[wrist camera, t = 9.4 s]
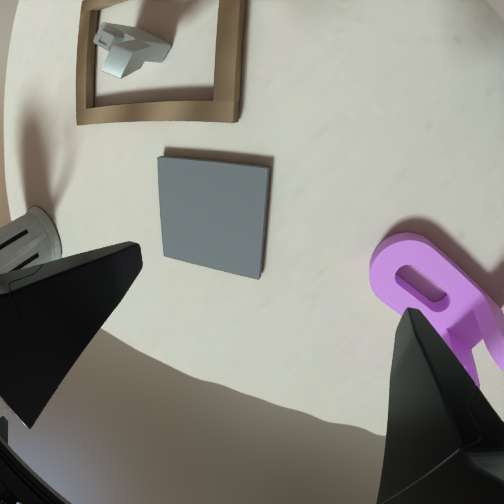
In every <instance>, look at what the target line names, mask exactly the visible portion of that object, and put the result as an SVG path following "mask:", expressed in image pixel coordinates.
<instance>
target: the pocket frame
mask: <svg viewBox="0 0 504 504" xmlns="http://www.w3.org/2000/svg"><path fill="white" fill-rule="evenodd" d="M124 1H127V0H84V1H82V6H81V14H80V23H79V33H78V46H77V64H76V118H77V125H87V124H99V123H114V122H135V121H204V122H226V123H235V122H238V116H239V97H240V79H241V62H242V45H243V30H244V15H245V1H246V0H219V9H218V23H217V37H216V53H215V71H214V93H213V101H203V100H201V101H161V102H144V103H131V104H120V105H111V106H102V107H94V56H95V43H94V42H93V40H94V38H95V34H96V28H97V18H98V11H99V10H102V9H104V8H107V7H110V6H112V5H115V4H118V3H121V2H124Z"/></svg>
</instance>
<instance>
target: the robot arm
mask: <svg viewBox="0 0 504 504" xmlns="http://www.w3.org/2000/svg"><path fill="white" fill-rule="evenodd" d="M142 266H143V262H142V255H141V248H140V245H139V244H138V243H135V242H131V241H128V242H123V243H119V244H115V245H111V246H107V247H103V248H99V249H95V250H91V251H88V252H84V253H80V254H76V255H72V256H68V257H65V258H61V259H57V260H53V261H50V262H46V263H45V264H44V263H42V264H39V265H35V266H31V267H28V268H24V269H20V270H16V271H11V272H7V273H3V274H0V504H16V503H17V502H19V503H20V504H71V503H70V502H69V501H68V500H66V499H65V498H64V497H63V496H61V495H60V494H59V493H58V492H57V491H55V490H54V489H53V488H52V487H51V486H49V485H48V484H47V483H46V482H45V481H44V480H43V479H42V478H41V477H39V476H38V475H37V474H36V473H35V472H34V471H33V470H32V469H31V468H30V467H29V466H28V465H27V464H26V463H25V462H24V461H23V460H22V459H21V458H20V457H19V456H18V455H17V454H16V453H15V452H14V451H13V450H12V449H11V447H10V446H9V445H8V421H7V420H6V418H5V417H4V416H3V414H4V413H5V412H6V411H7V410H8V409H10V410H11V411H12V412H13V413H14V415H15V416H16V417H17V418H18V419H19V420H21V422H22V423H23V424H24V425H26V427H28V429H30V428H32V426H33V425H34V423H35V421H36V420H37V418H38V417H39V415H40V414H41V412H42V411H43V409H44V407H45V406H46V404H47V403H48V401H49V400H50V398H51V397H52V395H53V394H54V392H55V391H56V389H57V388H58V385H60V383H61V382H62V380H63V379H64V377H65V376H66V375H67V373H68V372H69V370H70V369H71V367H72V366H73V364H74V363H75V362H76V360H77V359H78V357H79V356H80V355H81V353H82V352H83V350H84V349H85V347H87V345H88V344H89V342H90V341H91V340H92V338H93V337H94V335H95V334H96V333H97V332H98V330H99V329H100V328H101V326H102V325H103V324H104V322H105V321H106V320H107V318H108V317H109V316H110V315H111V313H112V312H113V311H114V309H115V308H116V307H117V306H118V304H119V303H120V302H121V300H122V299H123V297H124V296H125V294H126V293H127V291H128V290H129V288H130V286H131V285H132V283H133V282H134V280H135V279H136V277H137V276H138V274H139V273H140V271H141V269H142ZM376 504H504V422H503V421H502V420H501V418H500V417H499V416H498V414H497V413H496V412H495V410H494V409H493V408H492V406H491V405H490V403H489V402H488V401H487V399H486V398H485V396H484V395H483V393H482V392H481V390H480V389H479V388H478V386H477V385H475V382H474V380H473V379H472V378H471V376H470V375H469V373H468V372H467V371H466V369H465V368H464V366H463V365H462V364H461V362H460V361H459V360H458V358H457V357H456V356H455V354H454V353H453V351H452V350H451V349H450V348H449V346H448V345H447V344H446V342H445V341H444V340H443V338H442V337H441V336H440V334H439V333H438V332H437V331H436V329H435V328H434V327H433V326H432V324H431V323H430V322H429V321H428V319H427V318H426V317H425V316H424V314H423V313H422V312H421V311H420V310H419V309H416V308H411V307H407V308H406V309H405V311H404V313H403V316H402V318H401V320H400V322H399V325H398V327H397V330H396V334H395V343H394V351H393V359H392V366H391V374H390V388H389V407H388V421H387V433H386V443H385V452H384V460H383V468H382V474H381V481H380V487H379V493H378V498H377V503H376Z"/></svg>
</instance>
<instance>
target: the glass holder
mask: <svg viewBox="0 0 504 504" xmlns="http://www.w3.org/2000/svg"><path fill="white" fill-rule="evenodd" d="M57 259H61V245H60V240H59V237H58V234H57V232H56V229H55V227H54V225H53V223H52V221H51V220H50V218H49V217H48V215H47V214H46V213H45V212H44V211H43V210H42V209H40V208H39V207H36V206H35V207H31V208H30V209H29V210H28V211H27V213H26V214H25V215H23V216H21V217H19V218H17V219H16V220H14V221H12V222H10V223H8V224H7V225H5V226H3V227H1V228H0V274H3V273H7V272H11V271H16V270H20V269H24V268H28V267H31V266H35V265H39V264H42V263H44V264H45V263H46V262H50V261H53V260H57Z"/></svg>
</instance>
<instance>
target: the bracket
mask: <svg viewBox="0 0 504 504" xmlns="http://www.w3.org/2000/svg"><path fill="white" fill-rule="evenodd" d="M404 265H412V266H414V267H416V268H417V269H418V270H419V271H421V272H422V273H423V274H424V275H426V276H427V277H428V278H429V279H430V280H432V281H433V282H434V283H435V284H436V285H438V286H439V287H440V288H441V289H442V290H444V291H445V292H446V293H447V294H446V296H445V297H444V298H443V299H442V300H440V301H437V302H432V301H430V300H428V299H427V298H426V297H425V296H423V295H422V294H421V293H420V292H418V291H417V290H416V289H414V288H413V287H412V286H411V285H409V284H408V283H407V282H405V281H404V280H403V279H402V278H400V277H399V276H398V275H396V274H395V273H396V271H397V270H398V269H399V268H400V267H402V266H404ZM370 284H371V288H372V290H373V292H374V293H375V295H376V296H377V297H378V298H379V299H380V300H381V301H382V302H384V303H385V304H386V305H388V306H389V307H391V308H392V309H393V310H395V311H396V312H398V313H399V314H400V315H402V316H403V313H404V311H405V309H406V308H407V307H411V308H416V309H419V310H420V311H421V312H422V313H423V314H424V316H425V317H426V318H427V319H428V321H429V322H430V323H431V324H432V326H433V327H434V328H435V329H436V331H437V332H438V333H439V334H440V336H441V337H442V338H443V340H444V341H445V342H446V344H447V345H448V346H449V348H450V349H451V350H452V351H453V353H454V354H455V356H456V357H457V358H458V360H459V361H460V362H461V364H462V365H463V366H464V368H465V369H466V371H467V372H468V373H469V375H470V376H471V378H472V379H473V380H474V382H475V385H477V386H478V388H480V384H479V379H478V374H477V370H476V366H475V362H474V358H473V354H472V350H471V349H472V348H473V347H474V346H476V345H477V344H478V343H479V342H480V341H481V340H482V339H484V342H485V345H486V347H487V349H488V351H489V353H490V355H491V356H492V358H493V359H494V361H495V362H496V364H497V365H498V366H499V367H500V368H501V369H502V370H503V371H504V314H503V311H502V309H501V308H500V307H499V306H498V305H497V304H496V302H495V301H494V300H493V299H492V298H491V297H490V296H489V295H488V294H487V293H486V292H485V291H484V290H483V289H482V288H481V287H480V286H479V285H478V284H477V283H476V282H475V281H474V280H473V279H472V278H471V277H469V276H468V275H467V274H466V273H465V272H464V271H463V270H462V269H461V268H460V267H459V266H458V265H457V264H456V263H455V262H453V261H452V260H451V259H450V258H449V257H448V256H447V255H446V254H445V253H443V252H442V251H441V250H440V249H439V248H438V247H437V246H435V245H434V244H433V243H432V242H431V241H430V240H428V239H427V238H426V237H424V236H422V235H420V234H417V233H412V232H402V233H397V234H394V235H392V236H390V237H388V238H386V239H385V240H383V241H382V242H381V243H380V244H379V245H378V246H377V247H376V249H375V250H374V252H373V254H372V257H371V260H370Z"/></svg>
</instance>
